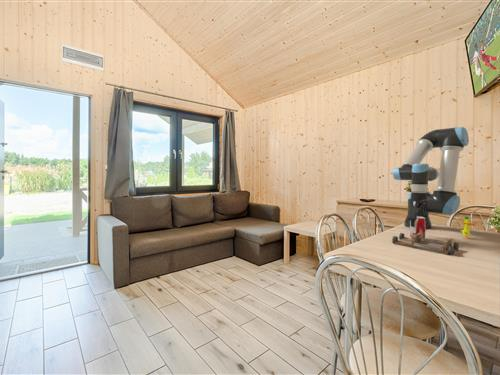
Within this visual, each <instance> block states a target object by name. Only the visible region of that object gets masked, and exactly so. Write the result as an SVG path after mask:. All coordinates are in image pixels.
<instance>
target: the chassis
mask: <svg viewBox="0 0 500 375" xmlns="http://www.w3.org/2000/svg"><path fill="white" fill-rule="evenodd" d="M391 241H392V242H391V243H393V244H394V245H396V246H401V247H407V248H412V249H415V250H421V251H425V252H426V251H427V252H431V253H437V254H442V255H446V256H448V255H452V256H453V255H454V254H455V251H459V249H460V244H459V242H456V241H455V242H453V238H452V237H448V238H446V239H445V240H443V241H441V240H435V239H429V238H425V239H424V238H422V240H421V233H418V234H416V235H414V236H412V238H411V237H410V238H409V237H406V236H405V233H402V232H400V233H399V236H396V235H393V237H392V239H391Z"/></svg>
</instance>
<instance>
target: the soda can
mask: <svg viewBox="0 0 500 375" xmlns="http://www.w3.org/2000/svg"><path fill="white" fill-rule="evenodd" d="M416 221H417V224H416V233H412V232H410V231H409V235H410V238H411V239H412V236H414V235H416V234H418V233H421V240H422V238H424V239H426V230H427V229H426V221H425V219H424V217H420V216H417V218H416Z"/></svg>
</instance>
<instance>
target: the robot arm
mask: <svg viewBox="0 0 500 375" xmlns="http://www.w3.org/2000/svg"><path fill="white" fill-rule="evenodd" d="M469 141H470V140H469V134H468V130H467V128H466V127H464V126H461V127H459V126H458V127H457V126H456V127H450V128H449V127H448V128H440V129H433V130H431V131H428V132H427V133H426V134H424V135H423V136H421V137H420V138H419V139H418V141H417V142H416V144H415V145H416V146H415V148H414V149H413V150H412V151H411V153H410V154H409V156H408V157H407V158H406V160H404V162H403V164H402V165H401V166H399V167H395V168H393V170H392V178H393V179H394V180H396V181H411V184H410V186H409V187H410V188H411V189H410V191H411V192H410V193H408V196H407V215H406V218H405V219H404V222H403V223H404V226H405V227H406V228H407V227H408V228H409V233H410V232H412V233H416V224H417V221H416V218H417V216H420V217H424V219H425V221H426V230H428V229H432V222H431V219H430V216H429V214H430V213H435V214H442V215H455V213H457V212H458V210H459V208H460V204H461V197H460V195H458V192H457V191H455V187H456V182H457V173H458V166H459V160H460V153H461V152H462V151H463V150H464V147H467V146H469ZM438 148H439V150H440V151H441V152H442V153H441V159H440V164H439V165H440V166H439V171H438V169H436V168H435V167H430V164H429V163H422V162H423V159H424V158H425V157H426V156H427V154H428V153H429V152H430V151H432V150H433V149H438ZM437 179H438V180H437ZM435 180H437V186H436V188H435V189H434V190H433V193H431V192H430V191H429V182H432V181H435Z"/></svg>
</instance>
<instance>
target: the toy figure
mask: <svg viewBox="0 0 500 375" xmlns="http://www.w3.org/2000/svg"><path fill="white" fill-rule="evenodd" d="M463 225H464V229H460V232H461V234H463V235H464V236H465V237H464V239H466V240H470V237H469V236H470V234H471V230H470V229H469V226H471V227H472V226H473V227H475V226H477V225H478V224H477V223H474V222H470V218H469V216H464V222H463Z"/></svg>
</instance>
